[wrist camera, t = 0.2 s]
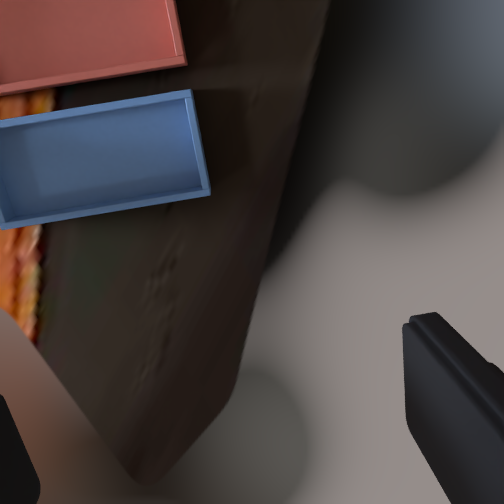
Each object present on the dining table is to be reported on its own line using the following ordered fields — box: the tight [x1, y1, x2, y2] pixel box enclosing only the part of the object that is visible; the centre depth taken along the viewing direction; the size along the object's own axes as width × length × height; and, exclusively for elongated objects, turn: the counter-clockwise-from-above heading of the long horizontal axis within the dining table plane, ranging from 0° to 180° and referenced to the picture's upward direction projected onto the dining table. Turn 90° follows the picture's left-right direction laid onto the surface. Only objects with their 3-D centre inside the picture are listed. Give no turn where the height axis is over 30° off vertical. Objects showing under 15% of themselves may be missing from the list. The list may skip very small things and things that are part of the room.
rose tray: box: [0, 0, 188, 96], centre depth 33 cm, size 9×18×2 cm, turn 99°
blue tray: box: [0, 89, 211, 230], centre depth 37 cm, size 9×18×2 cm, turn 99°
